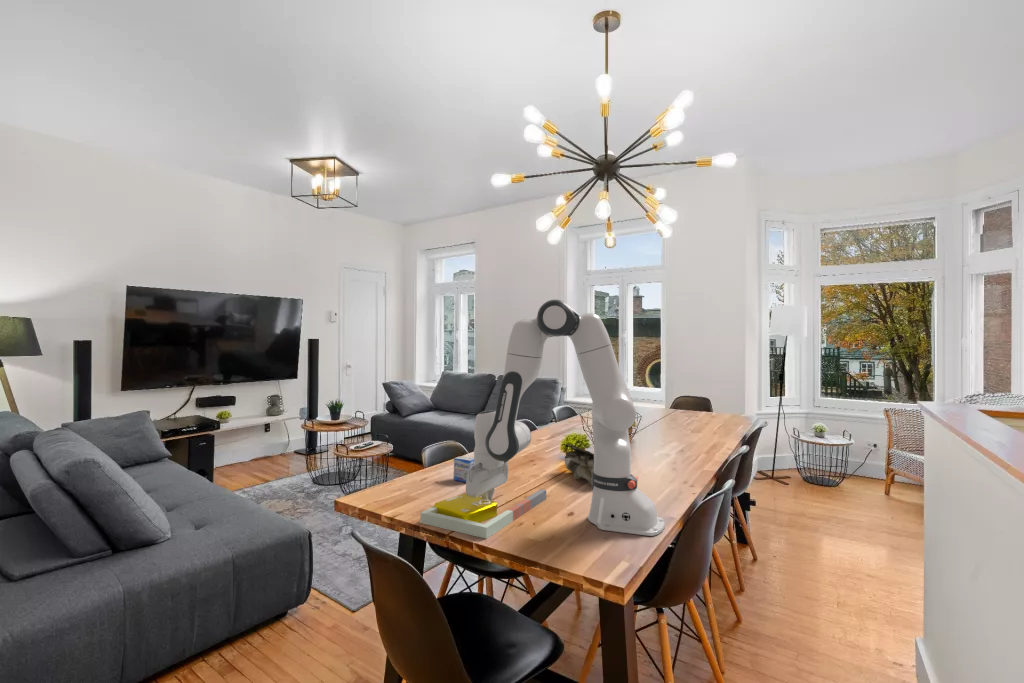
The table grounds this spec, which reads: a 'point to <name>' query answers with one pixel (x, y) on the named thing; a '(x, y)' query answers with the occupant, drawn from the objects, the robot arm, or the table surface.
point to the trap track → (478, 528)
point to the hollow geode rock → (580, 463)
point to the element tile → (468, 508)
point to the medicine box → (462, 468)
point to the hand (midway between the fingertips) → (487, 503)
